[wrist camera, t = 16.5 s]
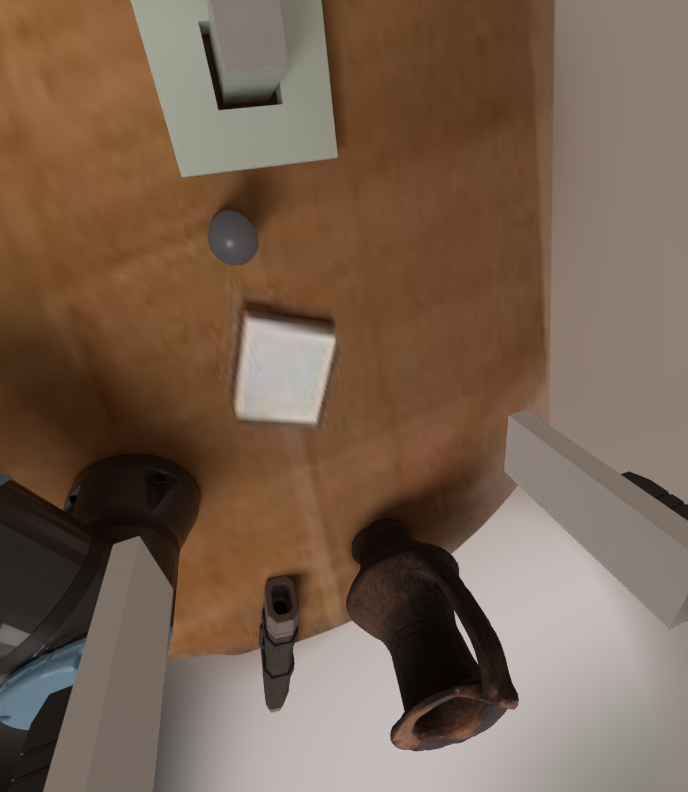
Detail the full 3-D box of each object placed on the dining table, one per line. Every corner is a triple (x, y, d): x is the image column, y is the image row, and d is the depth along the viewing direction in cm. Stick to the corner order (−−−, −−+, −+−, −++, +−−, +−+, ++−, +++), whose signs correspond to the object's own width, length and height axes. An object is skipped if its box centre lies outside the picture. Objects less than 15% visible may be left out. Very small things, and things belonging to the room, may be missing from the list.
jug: (410, 574, 74) (507, 773, 49) (320, 581, 68) (379, 815, 43) (448, 490, 66) (590, 678, 41) (350, 489, 59) (446, 713, 34)
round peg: (216, 254, 39) (216, 269, 32) (205, 211, 37) (201, 217, 30) (255, 248, 40) (263, 260, 33) (246, 206, 38) (252, 210, 31)
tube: (248, 662, 78) (251, 581, 62) (279, 647, 81) (290, 566, 65) (265, 723, 71) (275, 649, 54) (299, 703, 74) (317, 628, 57)
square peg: (223, 105, 34) (225, 70, 23) (210, 45, 32) (205, -22, 21) (268, 101, 34) (288, 65, 24) (258, 42, 32) (275, -24, 22)
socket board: (184, 177, 35) (181, 177, 33) (122, -39, 28) (112, -62, 26) (329, 159, 38) (337, 157, 35) (306, -44, 31) (314, -65, 28)
